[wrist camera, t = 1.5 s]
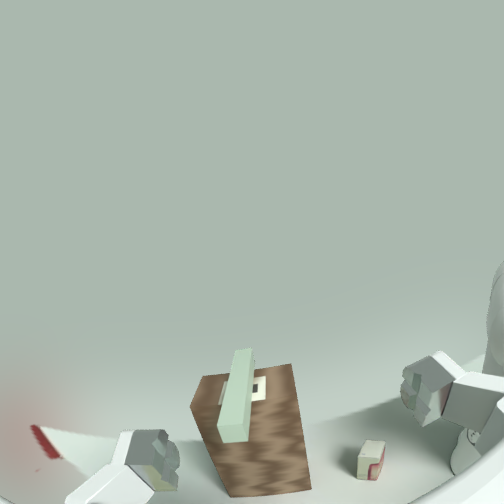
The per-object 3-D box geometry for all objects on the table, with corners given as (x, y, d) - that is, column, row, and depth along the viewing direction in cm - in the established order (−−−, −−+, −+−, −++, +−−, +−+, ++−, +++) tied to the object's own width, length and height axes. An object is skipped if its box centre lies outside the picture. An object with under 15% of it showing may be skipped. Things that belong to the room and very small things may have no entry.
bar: (254, 361, 49) (251, 347, 49) (248, 441, 27) (242, 423, 27) (239, 364, 49) (235, 350, 49) (223, 443, 27) (216, 425, 27)
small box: (376, 481, 34) (379, 458, 34) (356, 479, 37) (357, 456, 36) (383, 463, 38) (386, 440, 38) (364, 462, 41) (365, 438, 40)
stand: (306, 457, 47) (291, 363, 46) (311, 489, 37) (296, 393, 36) (235, 466, 48) (202, 375, 47) (230, 497, 38) (189, 406, 37)
